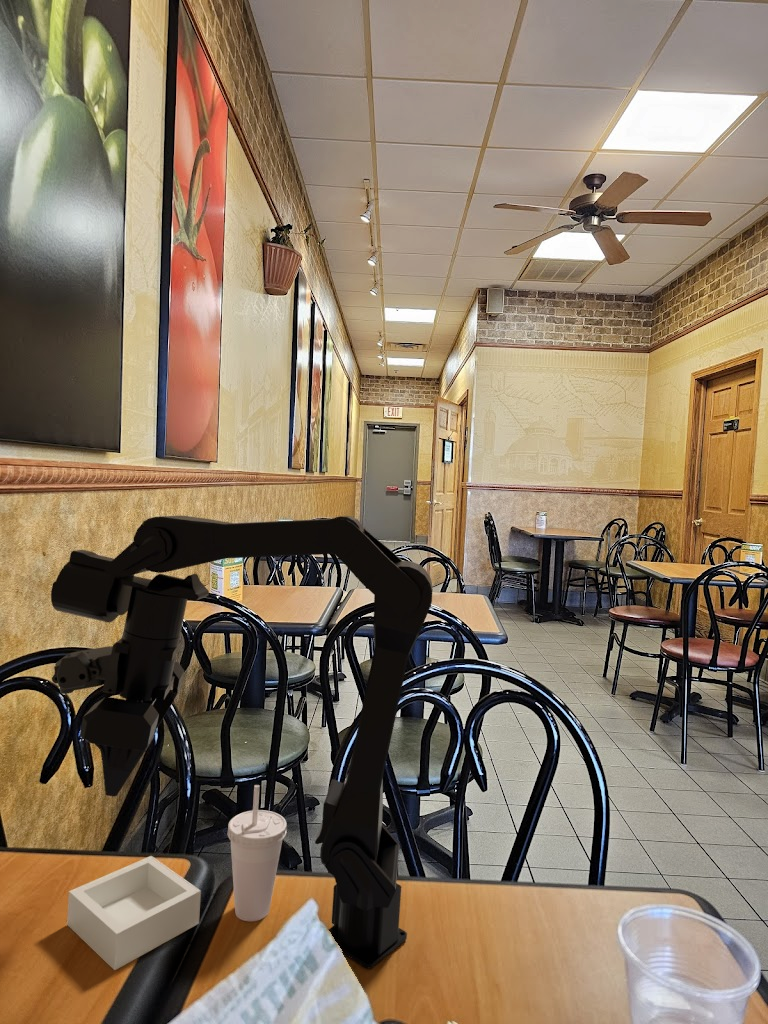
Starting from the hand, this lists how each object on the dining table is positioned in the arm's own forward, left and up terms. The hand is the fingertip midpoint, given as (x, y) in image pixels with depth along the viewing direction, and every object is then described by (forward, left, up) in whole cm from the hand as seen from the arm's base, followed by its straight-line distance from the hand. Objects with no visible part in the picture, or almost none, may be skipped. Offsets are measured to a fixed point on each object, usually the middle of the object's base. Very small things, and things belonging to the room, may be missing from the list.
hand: (123, 774), depth 69 cm
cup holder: (-3, 0, -15) cm, 15 cm away
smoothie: (-10, -10, -15) cm, 21 cm away
